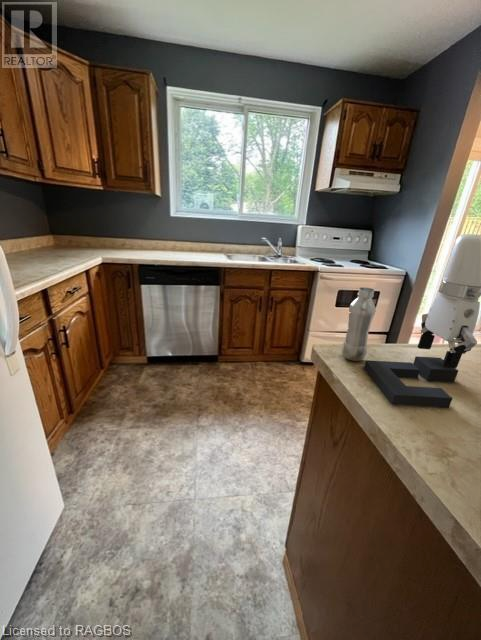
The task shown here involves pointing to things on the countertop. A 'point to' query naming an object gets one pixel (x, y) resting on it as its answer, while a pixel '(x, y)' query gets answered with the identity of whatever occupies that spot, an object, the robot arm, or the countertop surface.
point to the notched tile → (397, 391)
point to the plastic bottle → (359, 325)
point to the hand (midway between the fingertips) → (435, 357)
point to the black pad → (435, 370)
